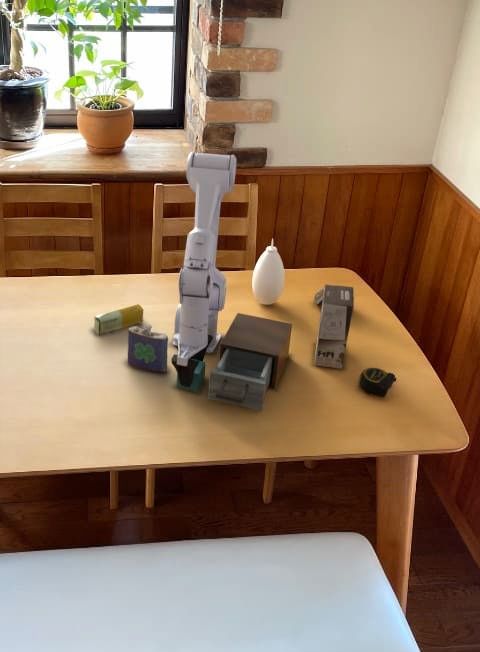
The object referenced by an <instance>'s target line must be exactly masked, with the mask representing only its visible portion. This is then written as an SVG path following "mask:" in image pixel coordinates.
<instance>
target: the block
mask: <svg viewBox="0 0 480 652" xmlns="http://www.w3.org/2000/svg"><path fill="white" fill-rule="evenodd" d="M192 360H194V359H192ZM195 361H199V360H195ZM206 367H207V362H206V361H200V362H199V364H198V366H197V367H196V369H195V372H194V375H193V380H192V383H191V386H190V387H185V386H181V385H180V381H179V377H178V374H177V373H176V389H181V390H184V391H185V390H187V391H190V392H194V393H199V392H200V390H201V388H202V386H203V384H204V382H205V380H206Z"/></svg>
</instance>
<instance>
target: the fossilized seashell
mask: <svg viewBox="0 0 480 652" xmlns="http://www.w3.org/2000/svg"><path fill="white" fill-rule="evenodd" d="M324 288H325V285H323V287H322V288H320V289H318V290H317V291H316V293H315V294H314V299H313V300H314V301H313V302H314V305H316V306H319V307H322V301H323V295H324Z"/></svg>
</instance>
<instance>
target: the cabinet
mask: <svg viewBox="0 0 480 652" xmlns="http://www.w3.org/2000/svg"><path fill="white" fill-rule="evenodd" d="M292 329H293V323H291V322H286V321H280V320H277V319H270V318H265V317H260V316H256V315H255V316H254V315H252V314H251V315H250V314H245V313H240V312H237V313H236V315H235V316H234V318H233V320H232V322H231V323H230V326H229V327H228V329H227V331H226V333H225V335H224V336H223V338H222V340H221V342H220V346H219V358H218V359H219V360H218V363H219V362H220V360H221V358H222V356H223V354H224V352H225V350H226V349H227V348H229V349H233V350H238V351H243V352H248V353H252V354H257V355H262V356H267V357H271V358H275V359H274V367H273V375H272V378H271V380H270V383H269V385H268V387H267V389H271V390H275V389H276V387H277V384H278V383H279V380H280V377H281V375H282V373H283V370H284V367H285V365H286V363H287V361H288V357H289V353H290V346H291V339H292V337H291V336H292Z"/></svg>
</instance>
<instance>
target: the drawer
mask: <svg viewBox="0 0 480 652" xmlns="http://www.w3.org/2000/svg"><path fill="white" fill-rule="evenodd" d="M274 359H275V358H271V357H267V356H262V355H257V354H252V353H248V352H243V351H238V350H233V349H229V348H227V349H226V350H225V352H224V354H223V356H222V358H221V360H220V362H219V361H218V363H217V365H216V369H215V368H211V369H210V371H209V378H208V379H209V380H208V381H209V382H208V393H207V395H208V397H207V399H209V400H213V401H218V402H222V403H225V404H230V405H234V406H239V407H243V408H247V409H252V410H256V411H261V412H262V411H263V408H264V404H265V395H266V392H267V390H268V388H267V387H268V385H269V383H270V380H271V378H272V375H273V367H274Z"/></svg>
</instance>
